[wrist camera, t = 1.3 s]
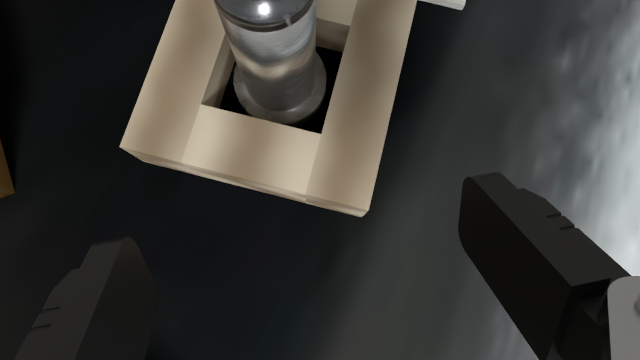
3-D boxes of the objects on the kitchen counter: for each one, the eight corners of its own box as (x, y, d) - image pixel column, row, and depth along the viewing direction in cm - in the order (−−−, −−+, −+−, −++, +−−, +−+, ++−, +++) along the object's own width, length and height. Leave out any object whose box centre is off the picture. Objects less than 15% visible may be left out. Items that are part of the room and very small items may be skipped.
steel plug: (335, 59, 30) (349, -74, 18) (313, 138, 29) (314, 51, 17) (251, 39, 30) (213, -105, 19) (226, 117, 29) (167, 15, 17)
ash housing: (407, 20, 31) (419, -11, 27) (361, 217, 27) (368, 210, 24) (211, -27, 31) (199, -63, 28) (143, 161, 28) (119, 146, 25)
